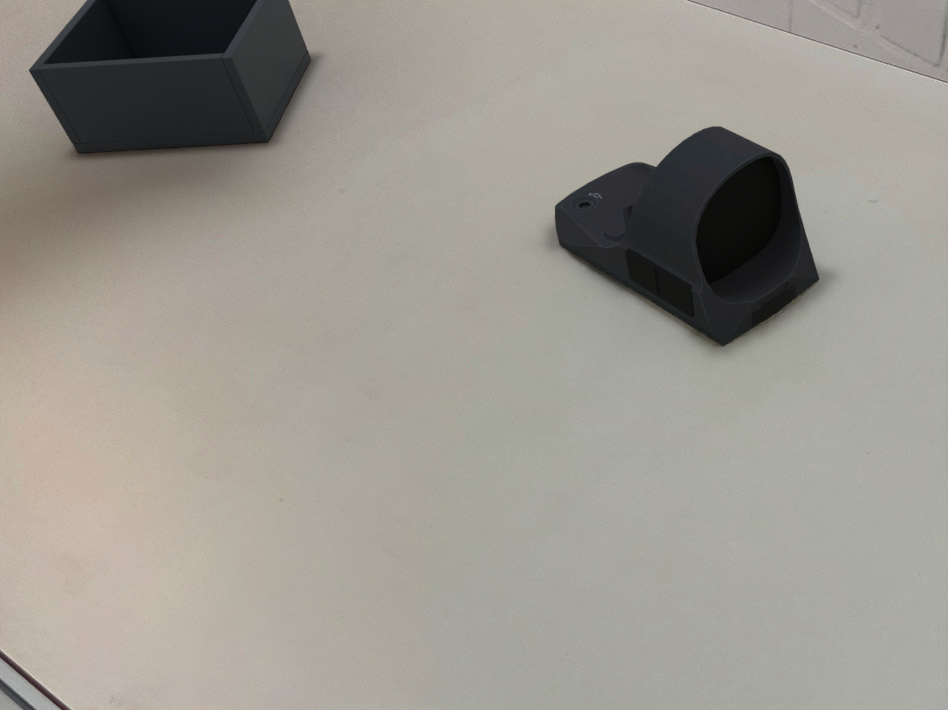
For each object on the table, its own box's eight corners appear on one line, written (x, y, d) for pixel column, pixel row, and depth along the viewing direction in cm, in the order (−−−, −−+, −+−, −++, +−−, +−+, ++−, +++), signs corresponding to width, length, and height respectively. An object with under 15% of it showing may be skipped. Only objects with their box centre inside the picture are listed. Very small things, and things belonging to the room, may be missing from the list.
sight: (639, 180, 78) (618, 43, 71) (822, 280, 70) (821, 137, 62) (540, 237, 75) (506, 100, 67) (721, 351, 66) (706, 208, 58)
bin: (77, 153, 86) (27, 70, 80) (137, 69, 94) (95, -12, 89) (268, 142, 85) (231, 57, 80) (311, 58, 93) (280, -24, 88)
